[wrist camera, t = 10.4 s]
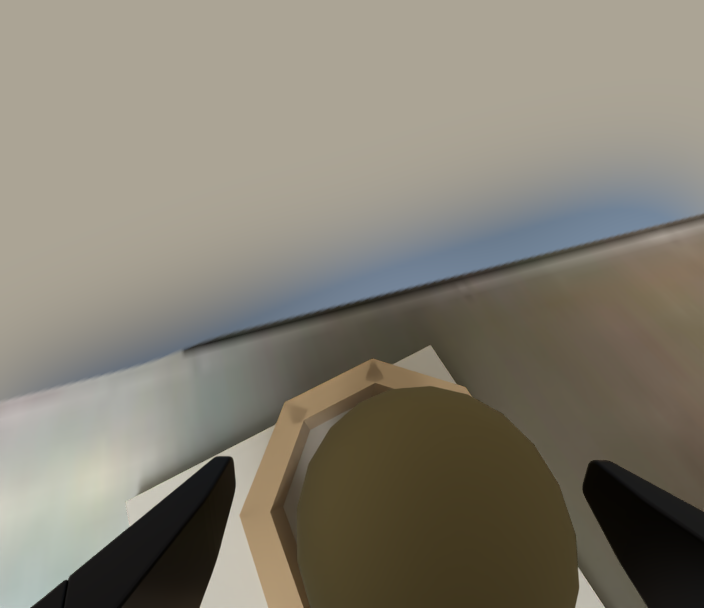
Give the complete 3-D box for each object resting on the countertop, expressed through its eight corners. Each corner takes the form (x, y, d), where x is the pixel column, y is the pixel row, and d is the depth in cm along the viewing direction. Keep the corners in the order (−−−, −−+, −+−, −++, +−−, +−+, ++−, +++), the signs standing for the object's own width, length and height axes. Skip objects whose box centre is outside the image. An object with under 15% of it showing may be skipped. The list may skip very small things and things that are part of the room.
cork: (463, 458, 16) (656, 418, 6) (427, 615, 13) (672, 997, 3) (344, 407, 17) (346, 303, 7) (288, 545, 14) (167, 684, 4)
